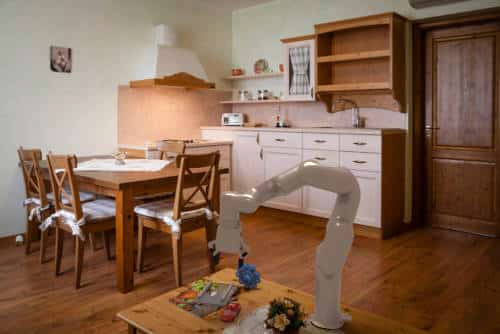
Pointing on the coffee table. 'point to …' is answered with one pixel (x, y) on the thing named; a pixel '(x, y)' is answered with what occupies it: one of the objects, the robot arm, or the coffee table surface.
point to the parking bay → (214, 300)
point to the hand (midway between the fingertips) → (228, 266)
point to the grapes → (248, 276)
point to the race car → (230, 311)
